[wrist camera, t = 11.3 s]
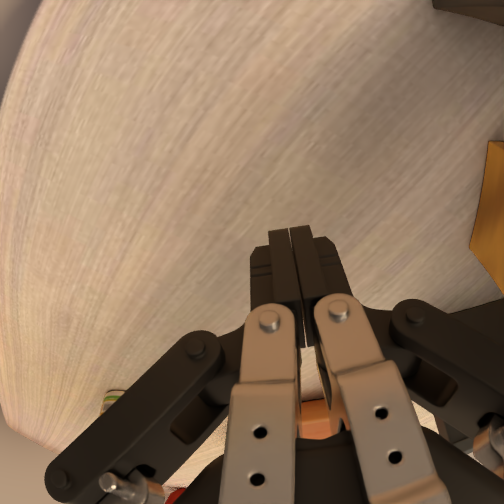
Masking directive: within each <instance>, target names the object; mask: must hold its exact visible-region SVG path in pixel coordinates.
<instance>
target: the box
mask: <svg viewBox="0 0 504 504" xmlns="http://www.w3.org/2000/svg"><path fill="white" fill-rule="evenodd" d="M469 248H470V249H471V251H472V252H473V253H474V255H475V256H476V257H477V258H478V260H479V261H480V262H481V264H482V265H483V266H484V268H485V269H486V270H487V272H488V273H489V275H490V276H491V277H492V279H493V280H494V282H495V283H496V284H497V286H498V287H499V289H500V290H501V292H502V293H503V295H504V142H501V141H489V143H488V152H487V161H486V168H485V175H484V181H483V187H482V192H481V198H480V203H479V208H478V212H477V217H476V221H475V226H474V230H473V234H472V238H471V242H470V245H469Z"/></svg>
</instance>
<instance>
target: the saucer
mask: <svg viewBox="0 0 504 504" xmlns="http://www.w3.org/2000/svg"><path fill="white" fill-rule="evenodd" d="M301 404H302V433H303V438H307V439H325V438H328V437H330V436H332V435H331V430H330V422H329V415H328V411H327V406H326V402H325V399H321V400H314V401H308V402H303V403H301Z"/></svg>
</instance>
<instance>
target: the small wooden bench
mask: <svg viewBox="0 0 504 504" xmlns="http://www.w3.org/2000/svg"><path fill="white" fill-rule="evenodd" d="M433 6H434V8H435V9H439V10H444V11H449V12H453V13H458V14H462V15H466V16H470V17H474V18H477V19H481V20H484V21H488V22H491V23H494V24H497V25H501V26H504V0H433ZM449 315H450V316H452V317H454V318H455V319H457V320H459V321H461V322H463V323H464V324H466V325H468V326H470V327H471V328H473V329H475V330H477V331H478V332H480V333H482V334H484V335H485V336H487V337H489V338H491V339H492V340H494V341H496V342H497V343H499V344H501V345H503V346H504V299H501V300H498V301H495V302H491V303H488V304H485V305H481V306H478V307H475V308H471V309H468V310H464V311H461V312H457V313H453V314H449ZM434 418H435V421H436V425H437V428H438V432H439V435H440V436H442V437H443V438H444V439H446V440H447V441H449V442H450V443H451V444H453V445H454V446H456V447H457V448H459V449H460V450H461V451H463V452H464V453H466V454H469V453H471V452H473V442H474V440H472V439H471V438H469V437H468V436H466V435H464V434H463V433H461V432H460V431H458V430H457V429H455V428H453V427H452V426H450V425H449V424H447V423H446V422H444V421H443V420H441V419H440V418H438V417H437V416H435V415H434Z"/></svg>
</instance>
